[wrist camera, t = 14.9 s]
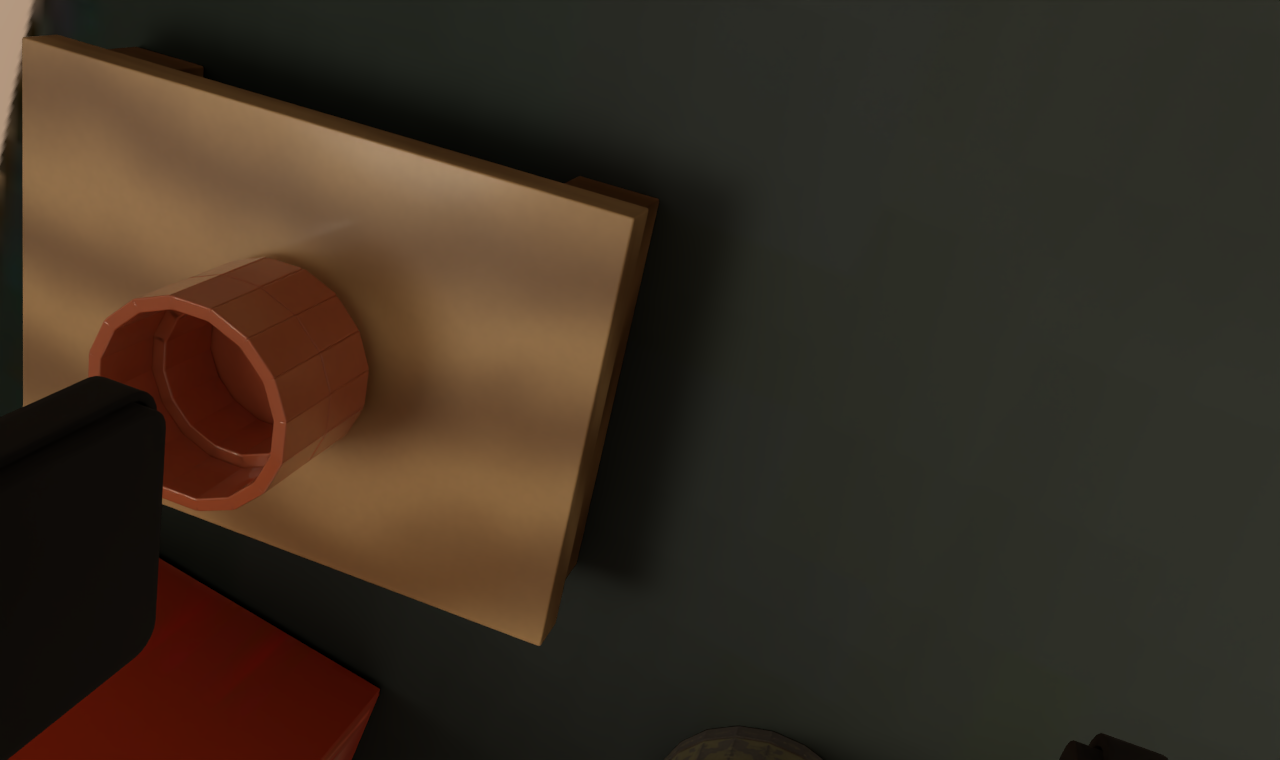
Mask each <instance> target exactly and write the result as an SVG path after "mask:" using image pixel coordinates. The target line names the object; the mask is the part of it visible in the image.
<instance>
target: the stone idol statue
mask: <svg viewBox="0 0 1280 760" xmlns="http://www.w3.org/2000/svg"><path fill="white" fill-rule="evenodd" d="M664 760H823V759H821V758H820V757H819V756H818V755H816V754H815V753H814V752H812V751H811V750H810V749H809V748H807V747H806V746H805V745H802V744H800V743H798V742H796V741H793V740H791V739H789V738H786V737H784V736H782V735H780V734H777V733H775V732H773V731H767V730H761V729H754V728H748V727H742V726H734V727H726V728H717V729H709V730H705V731H703V732H701V733H699V734H697V735H695V736H692V737H690V738H688V739H686V740H684V741H682V742H680V743H679V744H678V745H677V746H676V747H675V748H674V749H673V751H672V752H671V753H670V754H669V755H668V756H667V757H666V758H665V759H664Z"/></svg>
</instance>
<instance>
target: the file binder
mask: <svg viewBox="0 0 1280 760" xmlns="http://www.w3.org/2000/svg"><path fill="white" fill-rule="evenodd" d="M379 691H380V689H379V688H377V687H376V686H374V685H372V684H371V683H369V682H367V681H366V680H364V679H362V678H361V677H359V676H357V675H356V674H354V673H352V672H350V671H349V670H347V669H345V668H344V667H342V666H340V665H339V664H337V663H335V662H334V661H332V660H330V659H329V658H327V657H325V656H323V655H322V654H320V653H318V652H317V651H315V650H313V649H312V648H310V647H308V646H307V645H305V644H303V643H302V642H300V641H298V640H296V639H295V638H293V637H291V636H290V635H288V634H286V633H285V632H283V631H281V630H280V629H278V628H276V627H275V626H273V625H271V624H270V623H268V622H266V621H264V620H263V619H261V618H259V617H258V616H256V615H254V614H253V613H251V612H249V611H248V610H246V609H244V608H243V607H241V606H239V605H237V604H236V603H234V602H232V601H231V600H229V599H227V598H226V597H224V596H222V595H221V594H219V593H217V592H216V591H214V590H212V589H210V588H209V587H207V586H205V585H204V584H202V583H200V582H199V581H197V580H195V579H194V578H192V577H190V576H189V575H187V574H185V573H183V572H182V571H180V570H178V569H177V568H175V567H173V566H172V565H170V564H168V563H167V562H165V561H163V560H162V559H160V558H159V567H158V586H157V604H156V621H155V627H154V630H153V633H152V635H151V637H150V639H149V641H148V643H147V645H146V646H145V647H144V649H143V650H142V651H141V652H140V653H139V654H138V655H137V656H136V657H135V658H134V659H133V660H132V661H130V662H129V663H128V664H127V665H125V666H124V667H123V668H122V669H120V670H119V671H118V672H117V673H115V674H114V675H113V676H112V677H110V678H109V679H108V680H107V681H105V682H104V683H103V684H102V685H100V686H99V687H98V688H97V689H95V690H94V691H93V692H92V693H90V694H89V695H88V696H87V697H85V698H84V699H83V700H82V701H80V702H79V703H78V704H77V705H75V706H74V707H73V708H72V709H70V710H69V711H68V712H67V713H65V714H64V715H63V716H62V717H60V718H59V719H58V720H57V721H55V722H54V723H53V724H52V725H50V726H49V727H48V728H47V729H45V730H44V731H43V732H42V733H40V734H39V735H38V736H37V737H35V738H34V739H33V740H32V741H30V742H29V743H28V744H26V745H25V746H24V747H23V748H21V749H20V750H19V751H18V752H16V753H15V754H14V755H13V756H11V757H10V758H9V759H8V760H352V758H353V755H354V753H355V751H356V748H357V746H358V743H359V741H360V739H361V736H362V734H363V732H364V729H365V727H366V725H367V722H368V720H369V717H370V715H371V713H372V710H373V708H374V706H375V703H376V701H377V698H378V696H379Z"/></svg>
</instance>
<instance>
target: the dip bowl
mask: <svg viewBox="0 0 1280 760" xmlns="http://www.w3.org/2000/svg"><path fill="white" fill-rule="evenodd" d="M89 352H90V353H89V364H88V378H89V377H93V376H102V377H106V378H109V379H111V380H114V381H117V382H120V383H123V384H125V385H128V386H131V387H134V388H137V389H139V390H142V391H145V392H148V393H149V394H150V395H151V396H152V397H153V398H154V400H155V403H156V405H157V411H159V412H160V413H162V414H163V416H164V418H165V421H166V438H165V456H164V475H163V493H162V498H164V499H166V500H169V501H172V502H174V503H177V504H180V505H182V506H185V507H187V508H190V509H193V510H195V511H221V510H235V509H237V508H239V507H241V506H243V505H245V504H246V503H248V502H250V501H252V500H254V499H255V498H257V497H259V496H261V495H262V494H264V493H265V492H267V491H268V490H270V489H271V488H272V487H274V486H275V485H277V484H278V483H279V482H281V481H282V480H284V479H285V478H286V477H288V476H289V475H291V474H292V473H293V472H295V471H296V470H298V469H299V468H300V467H302V466H303V465H305V464H306V463H307V462H309V461H310V460H311V459H313V458H314V457H316V456H317V455H318V454H320V453H321V452H323V451H324V450H325V449H327V448H328V447H330V446H331V445H332V444H334V443H335V442H337V441H338V440H339V439H341V438H342V437H344V436H345V435H346V434H347V433H348V431H349V430H350V428H351V427H352V425H353V423H354V422H355V420H356V419H357V417H358V416H359V414H360V412H361V411H362V409H363V407H364V404H365V397H366V390H367V382H368V375H369V370H368V369H369V366H368V362H367V358H366V354H365V350H364V346H363V342H362V338H361V334H360V331H358V327H357V326H356V324H355V323H354V321H353V319H352V318H351V316H350V315H349V313H348V312H347V310H346V308H345V307H344V305H343V304H342V302H341V301H340V299H339V298H338V296H336V293H335V292H333V291H332V290H331V289H330V288H328V287H327V286H326V285H325V284H323V283H322V282H321V281H320V280H318V279H317V278H316V277H315V276H313V275H312V274H311V273H310V272H308V271H307V270H306V269H302V268H300V267H297V266H294V265H291V264H288V263H285V262H281V261H278V260H275V259H272V258H266V257H260V258H251V259H242V260H234V261H232V262H229V263H226V264H223V265H221V266H218V267H215V268H213V269H210V270H208V271H205V272H202V273H200V274H197V275H195V276H192V277H189V278H187V279H184V280H181V281H179V282H176V283H173V284H171V285H168V286H166V287H163V288H160V289H158V290H155V291H153V292H150V293H147V294H145V295H142V296H140V297H137V298H135V299H132V300H131V301H129V302H128V303H127V304H125V305H124V306H122V307H121V308H120V309H118V310H117V311H115V312H114V313H113V314H111V315H110V316H108V317H107V318H106V319H105V320H104V322H103V324H102V326H101V328H100V330H99V332H98V334H97V336H96V338H95V340H94V343H93V345H92V347H91V349H90V351H89Z"/></svg>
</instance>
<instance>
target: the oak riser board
mask: <svg viewBox="0 0 1280 760" xmlns="http://www.w3.org/2000/svg"><path fill="white" fill-rule="evenodd" d="M203 71H204V68H203V66H201V65H197V64H194V63H190V62H187V61H183V60H180V59H177V58H173V57H170V56H166V55H163V54H159V53H156V52H153V51H149V50H146V49H142V48H139V47H128V48H117V49H104V48H101V47H97V46H94V45H91V44H87V43H84V42H80V41H77V40H74V39H70V38H67V37H63V36H60V35H47V36H33V37H23V39H22V84H23V407H24V406H26V405H29V404H31V403H33V402H35V401H37V400H40V399H42V398H44V397H46V396H49V395H51V394H53V393H55V392H57V391H60V390H62V389H64V388H66V387H68V386H71V385H73V384H75V383H77V382H80V381H82V380H84V379H86V378H88V364H89V353H90V352H89V351H90V349H91V347H92V345H93V343H94V340H95V338H96V336H97V334H98V332H99V330H100V328H101V326H102V324H103V322H104V320H105V319H106V318H107V317H108V316H110V315H111V314H113V313H114V312H115V311H117V310H118V309H120V308H121V307H122V306H124V305H125V304H127V303H128V302H129V301H131V300H132V299H135V298H137V297H140V296H142V295H145V294H147V293H150V292H153V291H155V290H158V289H160V288H163V287H166V286H168V285H171V284H173V283H176V282H179V281H181V280H184V279H187V278H189V277H192V276H195V275H197V274H200V273H202V272H205V271H208V270H210V269H213V268H215V267H218V266H221V265H223V264H226V263H229V262H232V261H234V260H242V259H251V258H260V257H266V258H272V259H275V260H278V261H281V262H285V263H288V264H291V265H294V266H297V267H300V268H302V269H306V270H307V271H308V272H310V273H311V274H312V275H313V276H315V277H316V278H317V279H318V280H320V281H321V282H322V283H323V284H325V285H326V286H327V287H328V288H330V289H331V290H332V291H333V292H335V293H336V296H338V298H339V299H340V301H341V302H342V304H343V305H344V307H345V308H346V310H347V312H348V313H349V315H350V316H351V318H352V319H353V321H354V323H355V324H356V326H357V327H358V331H360V334H361V338H362V342H363V346H364V350H365V354H366V358H367V362H368V366H369V369H368V370H369V375H368V382H367V390H366V397H365V404H364V407H363V409H362V411H361V412H360V414H359V416H358V417H357V419H356V420H355V422H354V423H353V425H352V427H351V428H350V430H349V431H348V433H347V434H346V435H345V436H344V437H342V438H341V439H339V440H338V441H337V442H335V443H334V444H332V445H331V446H330V447H328V448H327V449H325V450H324V451H323V452H321V453H320V454H318V455H317V456H316V457H314V458H313V459H311V460H310V461H309V462H307V463H306V464H305V465H303V466H302V467H300V468H299V469H298V470H296V471H295V472H293V473H292V474H291V475H289V476H288V477H286V478H285V479H284V480H282V481H281V482H279V483H278V484H277V485H275V486H274V487H272V488H271V489H270V490H268V491H267V492H265V493H264V494H262V495H261V496H259V497H257V498H255V499H254V500H252V501H250V502H248V503H246V504H245V505H243V506H241V507H239V508H237V509H235V510H221V511H195V510H193V509H190V508H187V507H185V506H182V505H180V504H177V503H174V502H172V501H169V500H166V499H164V498H162V504H164V505H166V506H169V507H172V508H174V509H177V510H179V511H182V512H185V513H187V514H190V515H193V516H195V517H198V518H201V519H203V520H206V521H209V522H211V523H214V524H217V525H219V526H222V527H224V528H227V529H230V530H232V531H235V532H238V533H240V534H243V535H246V536H248V537H251V538H254V539H256V540H259V541H262V542H264V543H267V544H270V545H272V546H275V547H277V548H280V549H283V550H285V551H288V552H291V553H293V554H296V555H299V556H301V557H304V558H307V559H309V560H312V561H315V562H317V563H320V564H323V565H325V566H328V567H330V568H333V569H336V570H338V571H341V572H344V573H346V574H349V575H352V576H354V577H357V578H360V579H362V580H365V581H368V582H370V583H373V584H376V585H378V586H381V587H383V588H386V589H389V590H391V591H394V592H397V593H399V594H402V595H405V596H407V597H410V598H413V599H415V600H418V601H421V602H423V603H426V604H428V605H431V606H434V607H436V608H439V609H442V610H444V611H447V612H450V613H452V614H455V615H458V616H460V617H463V618H466V619H468V620H471V621H474V622H476V623H479V624H481V625H484V626H487V627H489V628H492V629H495V630H497V631H500V632H503V633H505V634H508V635H511V636H513V637H516V638H519V639H521V640H524V641H527V642H529V643H532V644H534V645H537V646H540V645H541V644H542V643H543V641H544V640H545V638H546V637H547V635H548V634H549V632H550V631H551V629H552V628H553V626H554V625H555V623H556V619H557V614H558V610H559V605H560V601H561V597H562V592H563V588H564V583H565V579H566V578H567V576H568V575H569V573H570V572H571V571H572V569H573V568H574V566H575V565H576V564H577V559H578V555H579V551H580V546H581V542H582V538H583V533H584V529H585V524H586V520H587V516H588V511H589V507H590V503H591V498H592V494H593V489H594V485H595V481H596V476H597V472H598V467H599V463H600V459H601V454H602V450H603V446H604V441H605V437H606V432H607V428H608V424H609V419H610V415H611V411H612V406H613V402H614V397H615V393H616V389H617V384H618V380H619V376H620V371H621V367H622V362H623V358H624V354H625V349H626V345H627V341H628V336H629V332H630V327H631V323H632V319H633V314H634V310H635V306H636V301H637V297H638V292H639V288H640V284H641V279H642V275H643V270H644V266H645V262H646V257H647V253H648V249H649V244H650V240H651V235H652V231H653V227H654V222H655V218H656V214H657V209H658V205H659V199H657V198H654V197H650V196H647V195H643V194H640V193H637V192H633V191H630V190H626V189H623V188H619V187H616V186H613V185H609V184H606V183H602V182H599V181H595V180H592V179H589V178H585V177H582V176H578V177H576V178H574V179H572V180H570V181H568V182H566V183H561V182H557V181H554V180H550V179H547V178H544V177H540V176H537V175H533V174H530V173H526V172H523V171H520V170H516V169H513V168H509V167H506V166H503V165H499V164H496V163H492V162H489V161H486V160H482V159H479V158H475V157H472V156H469V155H465V154H462V153H458V152H455V151H452V150H448V149H445V148H441V147H438V146H435V145H431V144H428V143H424V142H421V141H417V140H414V139H411V138H407V137H404V136H400V135H397V134H394V133H390V132H387V131H383V130H380V129H377V128H373V127H370V126H366V125H363V124H360V123H356V122H353V121H349V120H346V119H343V118H339V117H336V116H332V115H329V114H326V113H322V112H319V111H315V110H312V109H309V108H305V107H302V106H298V105H295V104H291V103H288V102H285V101H281V100H278V99H274V98H271V97H268V96H264V95H261V94H257V93H254V92H251V91H247V90H244V89H240V88H237V87H234V86H230V85H227V84H223V83H220V82H217V81H213V80H210V79H206V78H203Z"/></svg>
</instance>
